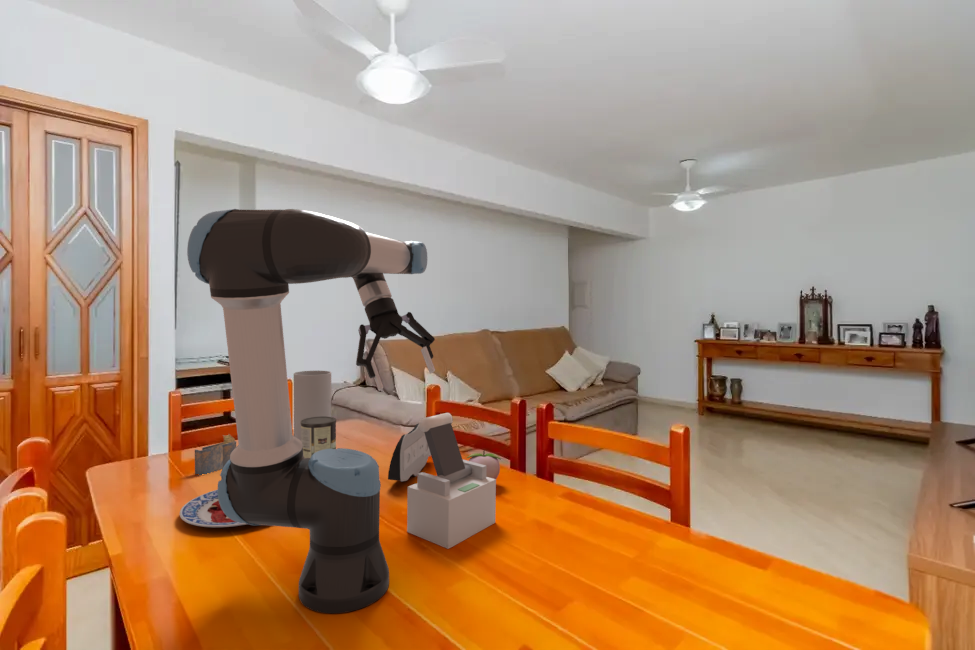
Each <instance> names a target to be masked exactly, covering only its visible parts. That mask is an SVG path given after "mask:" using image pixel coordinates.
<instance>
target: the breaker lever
mask: <svg viewBox="0 0 975 650" xmlns="http://www.w3.org/2000/svg"><path fill="white" fill-rule="evenodd" d="M453 420H454V419H453V416H452V414H451V413H450V412H445V413H440V414H435V415H432V416H427V417H423V418H420V419H419V422H418V423H419V428H420V430H421V431H422V432H424V433H425V437H426V440H427V443H428V447H429V450H430V453H431V456H430V457H431V460H432V463H433V465H434V469H435V473H436V476H437V477H440V478H444V479H447V480H450V483H452V482H455V481H457V480H460V479H462V478H465V477H467V476H470V475H471V474H472V469H471V467H470V466H469V465H466V466H464V463H463V460H464V459H463V457H462V453H461V451H460V448H459V444H458V441H457V438H456V434H455V431H454V429H453V424H452V423H453V422H454V421H453ZM462 459H463V460H462Z"/></svg>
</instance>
